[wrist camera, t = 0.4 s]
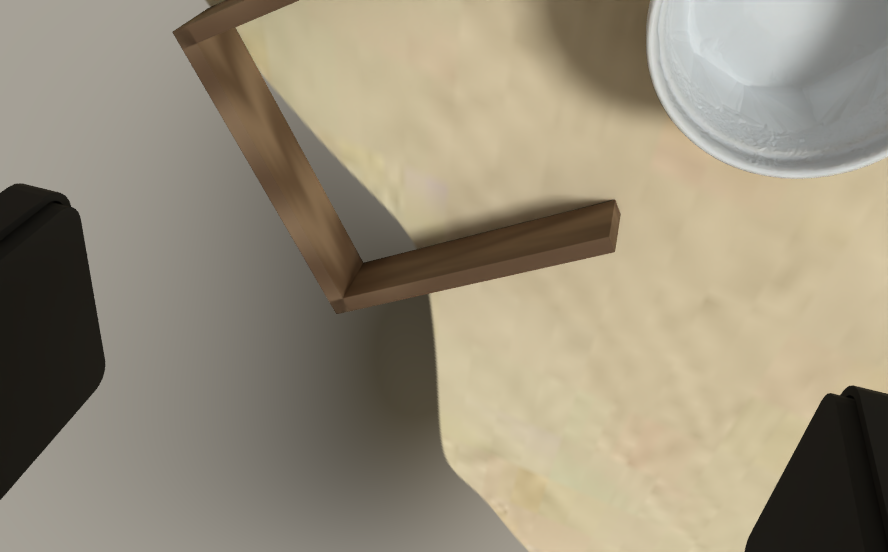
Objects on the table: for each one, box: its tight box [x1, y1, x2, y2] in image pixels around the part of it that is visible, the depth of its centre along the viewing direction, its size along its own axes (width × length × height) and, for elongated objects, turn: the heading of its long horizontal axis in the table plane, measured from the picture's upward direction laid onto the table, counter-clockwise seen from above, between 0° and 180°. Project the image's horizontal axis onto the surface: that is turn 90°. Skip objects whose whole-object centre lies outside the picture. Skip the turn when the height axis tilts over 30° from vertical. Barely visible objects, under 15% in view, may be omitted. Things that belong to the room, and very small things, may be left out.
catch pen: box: [173, 0, 621, 314], centre depth 46 cm, size 19×18×4 cm
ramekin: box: [646, 0, 888, 179], centre depth 36 cm, size 13×13×7 cm
